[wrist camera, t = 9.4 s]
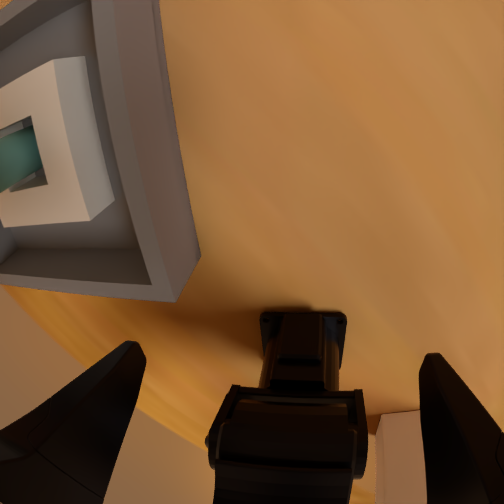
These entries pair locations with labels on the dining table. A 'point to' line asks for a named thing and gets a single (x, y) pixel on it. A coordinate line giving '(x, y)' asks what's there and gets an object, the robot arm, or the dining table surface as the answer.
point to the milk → (400, 460)
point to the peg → (18, 157)
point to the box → (93, 152)
